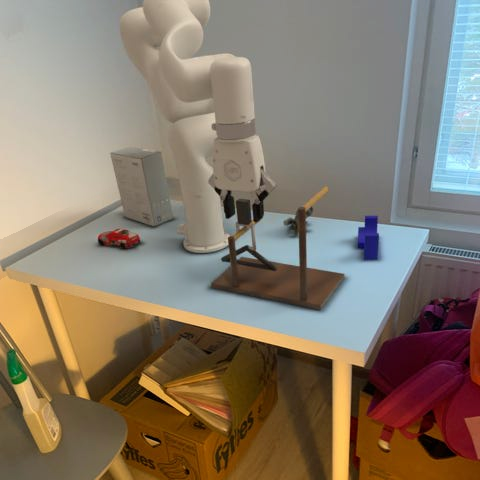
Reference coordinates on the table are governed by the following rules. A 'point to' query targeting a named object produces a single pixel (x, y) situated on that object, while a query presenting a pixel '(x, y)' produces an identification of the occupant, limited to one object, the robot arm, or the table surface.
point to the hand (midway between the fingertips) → (244, 217)
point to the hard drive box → (142, 185)
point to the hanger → (245, 220)
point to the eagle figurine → (296, 221)
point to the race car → (119, 238)
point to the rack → (281, 273)
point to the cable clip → (369, 238)
